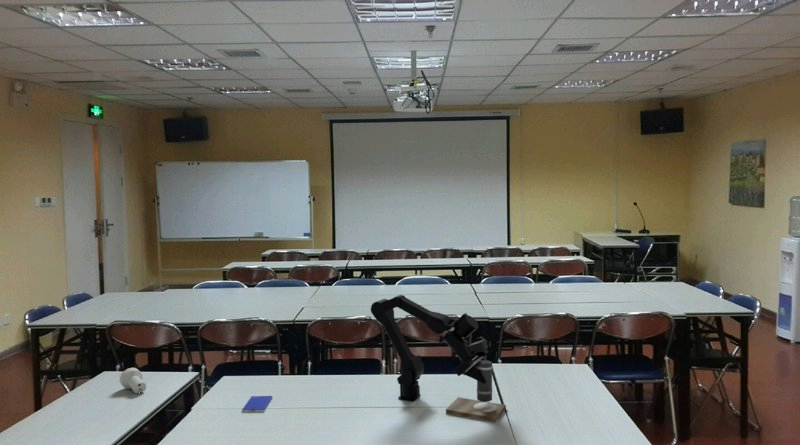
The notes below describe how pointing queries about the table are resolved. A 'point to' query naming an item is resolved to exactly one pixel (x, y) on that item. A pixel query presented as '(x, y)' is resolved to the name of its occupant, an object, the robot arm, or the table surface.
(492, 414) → the mount board
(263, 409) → the blue book
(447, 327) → the robot arm
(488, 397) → the dark grey cylinder
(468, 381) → the table surface
